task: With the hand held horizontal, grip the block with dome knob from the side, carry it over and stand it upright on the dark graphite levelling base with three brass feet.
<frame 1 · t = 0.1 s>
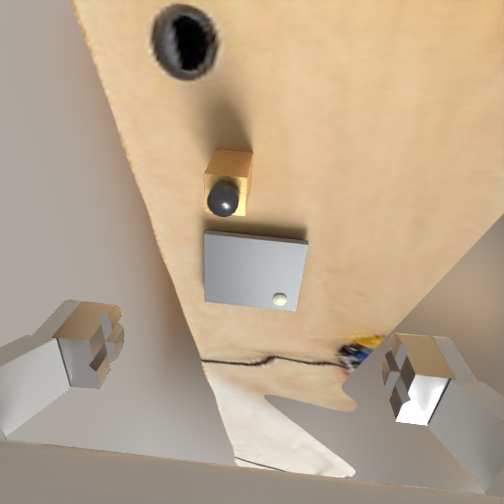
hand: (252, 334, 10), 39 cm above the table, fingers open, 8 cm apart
block with dome knob: (234, 168, 48), on the table
levelling base: (253, 267, 57), on the table
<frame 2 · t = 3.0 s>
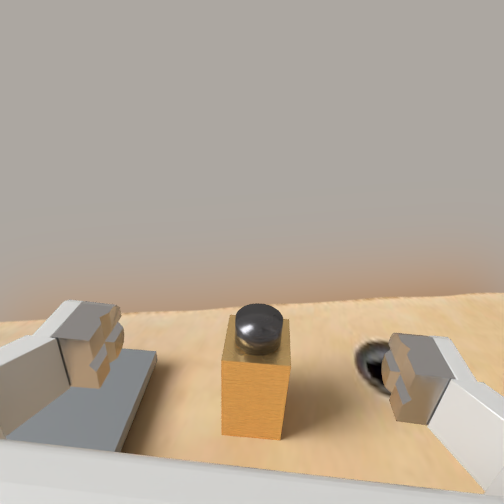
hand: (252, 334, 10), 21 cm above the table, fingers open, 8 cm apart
block with dome knob: (252, 411, 31), on the table
levelling base: (45, 435, 28), on the table
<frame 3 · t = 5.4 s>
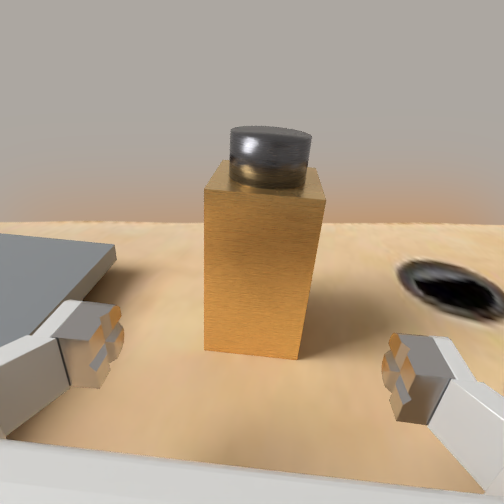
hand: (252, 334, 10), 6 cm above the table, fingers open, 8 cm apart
block with dome knob: (253, 324, 20), on the table
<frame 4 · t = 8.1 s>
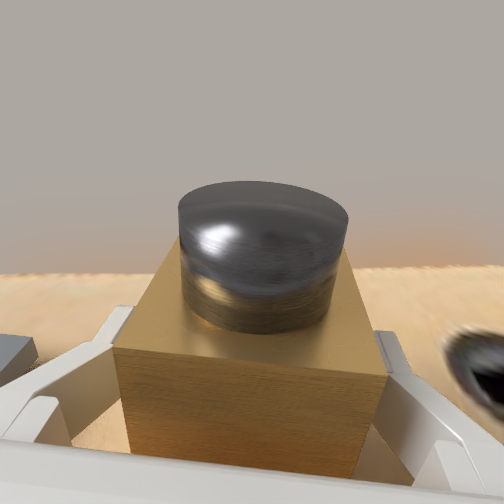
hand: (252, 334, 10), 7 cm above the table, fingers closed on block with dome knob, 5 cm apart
block with dome knob: (239, 484, 13), on the table, touching gripper
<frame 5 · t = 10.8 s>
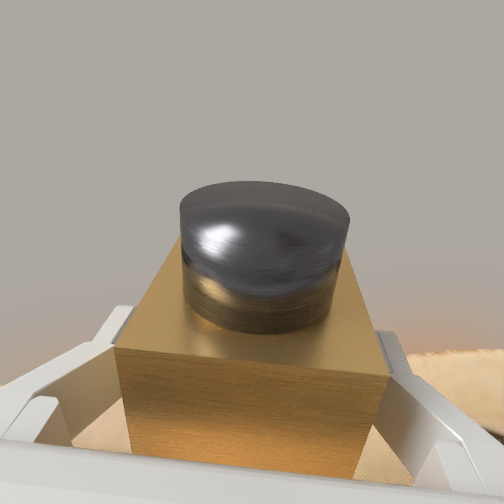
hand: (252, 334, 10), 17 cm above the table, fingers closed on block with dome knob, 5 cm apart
block with dome knob: (240, 484, 13), point 11 cm above the table, touching gripper
when the fingers open (10 cm above the table, at t = 13.9 s): block with dome knob drops 1 cm, resting on levelling base.
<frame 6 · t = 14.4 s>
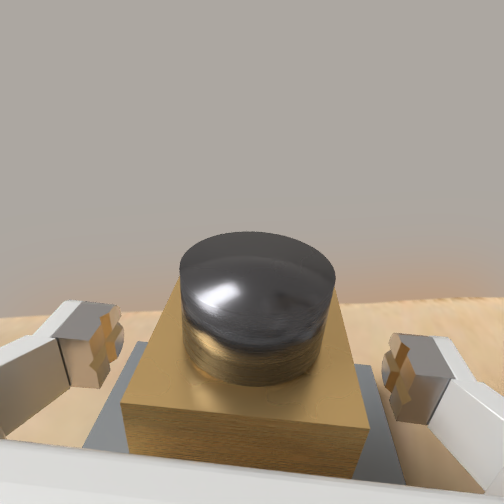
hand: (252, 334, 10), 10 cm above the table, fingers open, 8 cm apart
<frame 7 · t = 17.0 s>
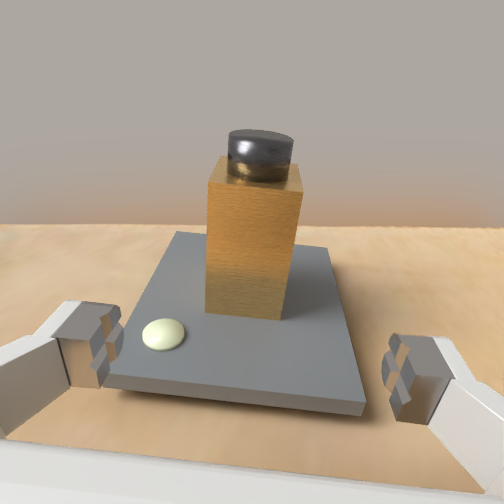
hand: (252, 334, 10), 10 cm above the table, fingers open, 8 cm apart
block with dome knob: (244, 293, 25), point 2 cm above the table, touching levelling base
levelling base: (242, 315, 26), on the table
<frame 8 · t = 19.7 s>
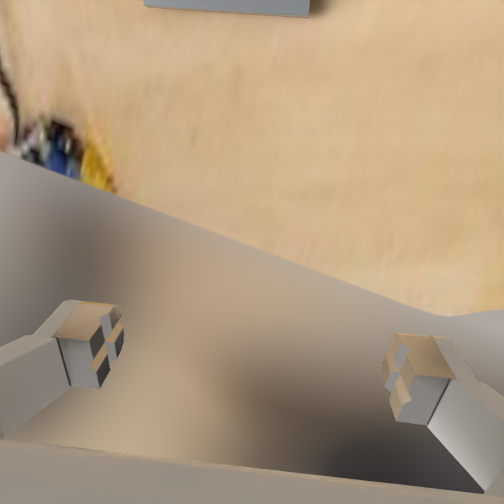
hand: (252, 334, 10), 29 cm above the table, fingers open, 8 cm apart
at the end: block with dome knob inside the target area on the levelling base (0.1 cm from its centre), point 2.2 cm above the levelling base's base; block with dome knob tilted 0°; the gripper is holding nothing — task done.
